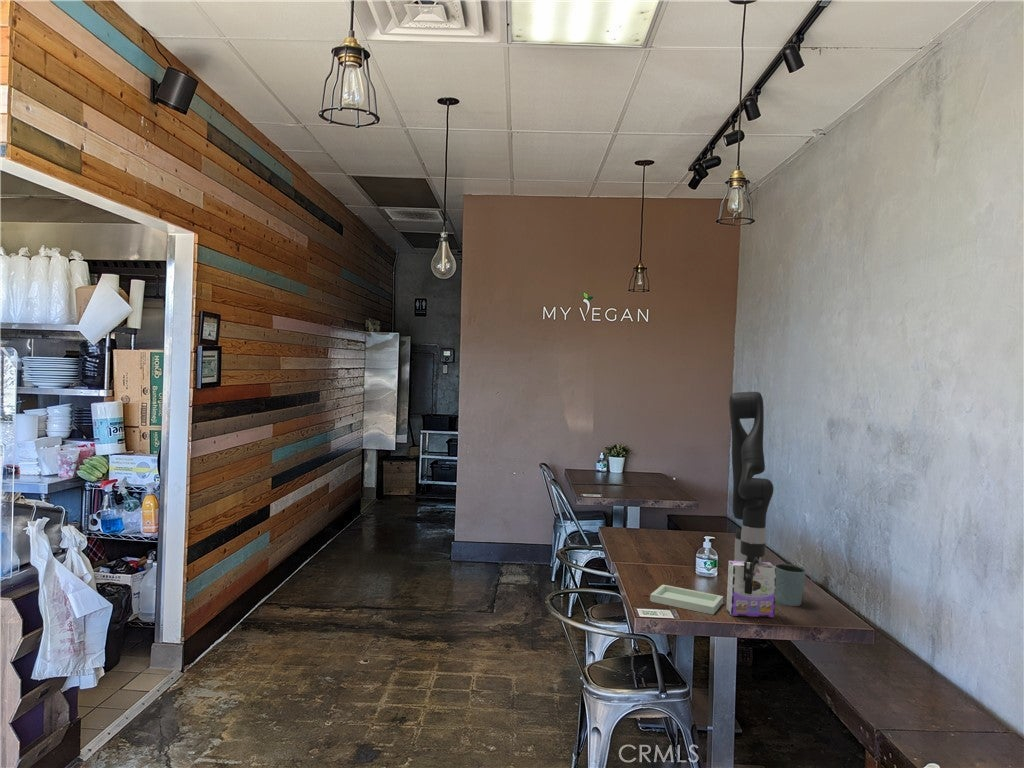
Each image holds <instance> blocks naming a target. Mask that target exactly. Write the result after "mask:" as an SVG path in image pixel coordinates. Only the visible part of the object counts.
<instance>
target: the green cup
mask: <svg viewBox="0 0 1024 768" xmlns="http://www.w3.org/2000/svg"><path fill="white" fill-rule="evenodd" d="M773 565H774V566H775V567H776V584H775V603H778V604H779V605H783V606H787V605H788V607H798V606H801V605H802V600H803V599H802V598H803V590H804V585H805V579H806V573H807V570H806V569H805V568H804V567H802V566H799V565H796V564H790V563H776V564H773Z"/></svg>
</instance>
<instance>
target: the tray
mask: <svg viewBox="0 0 1024 768" xmlns="http://www.w3.org/2000/svg"><path fill="white" fill-rule="evenodd" d="M650 601H651V602H650ZM649 602H650V603H656V604H660V605H665V606H669V607H675V608H679V609H684V610H689V611H694V612H699V613H705V614H708V615H715V613H717V611H718V609H720V608H721V606H722V605H723V604H724V596H723V595H718V594H714V593H708V592H703V591H699V590H695V589H694V590H692V589H689V588H688V589H687V588H683V587H677V586H672V585H667V584H661V585H660V586H659V587H658V588H657V589H655V590H654V591H652V593H650V597H649Z"/></svg>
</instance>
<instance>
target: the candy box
mask: <svg viewBox="0 0 1024 768" xmlns="http://www.w3.org/2000/svg"><path fill="white" fill-rule="evenodd" d="M744 562H745V561H734V560H728V563H727V564H728V567H727V569H728V570H727V585H726V587H727V590H726V602H725V603H726V606H725V608H726V611H727V612H728V614H729V615H730V616H732V617H733V616H735V617H736V616H737V617H753V618H754V617H755V618H756V617H758V618H775V612H776V611H775V608H776V607H775V606H776V605H775V603H776V601H775V584H776V567H775V566H774V565H775V564H772V563H771V562H769V561H768V562H767V561H761V562H760V563H759V564H758V566H757V567H756V575H755V576H754V578H753V587H752V594H746V593H745V581H744V580H743V578H744ZM754 567H755V566H754ZM748 570H750V569H748ZM753 572H754V569H753ZM747 577H748V578H750V575H747Z"/></svg>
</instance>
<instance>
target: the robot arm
mask: <svg viewBox="0 0 1024 768" xmlns="http://www.w3.org/2000/svg"><path fill="white" fill-rule="evenodd" d="M728 405H729V407H728V409H729V417H730V418H729V419H730V429H731V462H732V463H731V464H732V466H731V467H732V482H733V484H732V485H733V486H732V487H733V488H732V514H733V517H734V518H735V519H737V520H742V524H741V525H742V527H741V528H738V529H736V530H735V537H734V557H733V558H734V559H733V561H745V562H744V578H743V580H744V581H745V593H746V594H752V587H753V578H754V576H755V575H756V567H757V566H758V564H759V563H760V562H762V561H761V560H762V557H765V556H766V539H767V531H766V523H767V513H768V509H769V506H770V503H771V500H772V497H773V494H774V490H775V489H774V484H773V482H772V481H771V480H770V479H768V478H762V477H761V478H760V477H759V478H758V477H754V476H755V475H760V474H763V473H764V471H765V470H766V465H765V464H766V463H765V454H764V430H765V429H764V424H765V423H764V422H765V421H764V417H765V415H764V408H765V407H764V400H763V396H762V394H761V393H760V392H759V391H742V392H741V391H740V392H739V391H737V392H732V393H731V394H730V396H729V402H728ZM741 419H742V420H743V419H744V420H746V419H753V425H752V427H751V429H750V431H749V433H747V431H746V430H745V428H744V427H743V425H742V422H741ZM754 566H755V567H754ZM748 569H750V570H748ZM753 569H754V572H753ZM747 575H750V578H748V577H747Z"/></svg>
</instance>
